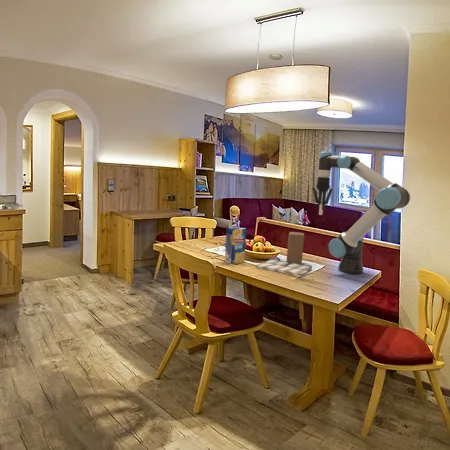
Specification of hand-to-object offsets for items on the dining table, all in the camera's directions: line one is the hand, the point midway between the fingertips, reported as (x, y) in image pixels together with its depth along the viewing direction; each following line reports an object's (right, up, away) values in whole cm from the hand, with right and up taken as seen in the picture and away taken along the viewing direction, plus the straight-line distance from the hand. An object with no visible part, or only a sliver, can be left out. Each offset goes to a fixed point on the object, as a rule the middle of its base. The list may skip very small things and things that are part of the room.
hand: (320, 214), depth 252 cm
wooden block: (-14, -32, +16) cm, 38 cm away
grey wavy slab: (-14, -34, -2) cm, 37 cm away
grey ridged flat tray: (-26, -34, -8) cm, 44 cm away
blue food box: (-54, -31, +8) cm, 63 cm away
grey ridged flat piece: (-27, -32, +5) cm, 42 cm away
